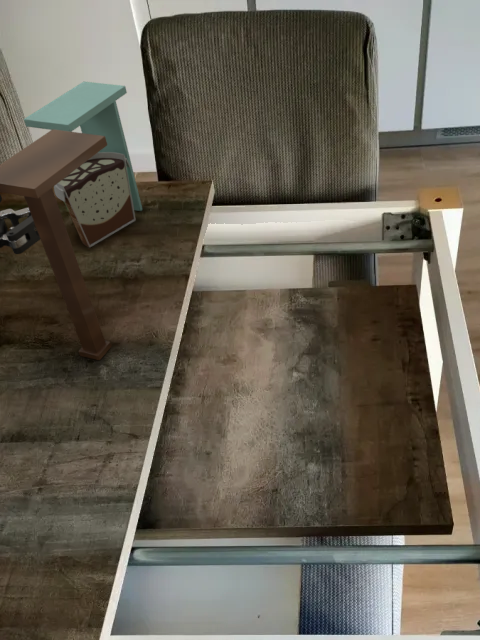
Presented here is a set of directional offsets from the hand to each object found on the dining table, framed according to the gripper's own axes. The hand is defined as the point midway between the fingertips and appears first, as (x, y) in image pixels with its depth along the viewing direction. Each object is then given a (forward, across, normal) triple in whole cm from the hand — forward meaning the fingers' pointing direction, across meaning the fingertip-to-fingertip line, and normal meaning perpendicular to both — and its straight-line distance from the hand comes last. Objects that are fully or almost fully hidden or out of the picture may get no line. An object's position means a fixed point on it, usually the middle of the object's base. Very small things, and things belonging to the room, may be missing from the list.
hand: (24, 196), depth 85 cm
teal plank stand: (+15, 0, +11) cm, 19 cm away
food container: (+12, 0, +11) cm, 17 cm away
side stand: (-9, -14, +12) cm, 20 cm away
